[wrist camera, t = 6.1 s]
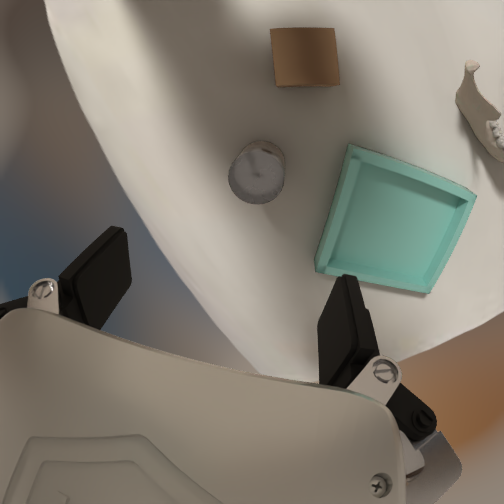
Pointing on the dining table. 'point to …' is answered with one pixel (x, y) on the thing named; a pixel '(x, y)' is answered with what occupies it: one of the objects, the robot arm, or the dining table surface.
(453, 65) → the dining table surface
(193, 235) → the dining table surface
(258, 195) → the grey metal cylinder
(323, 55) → the walnut block
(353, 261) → the tray
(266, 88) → the dining table surface
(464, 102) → the anatomical model
